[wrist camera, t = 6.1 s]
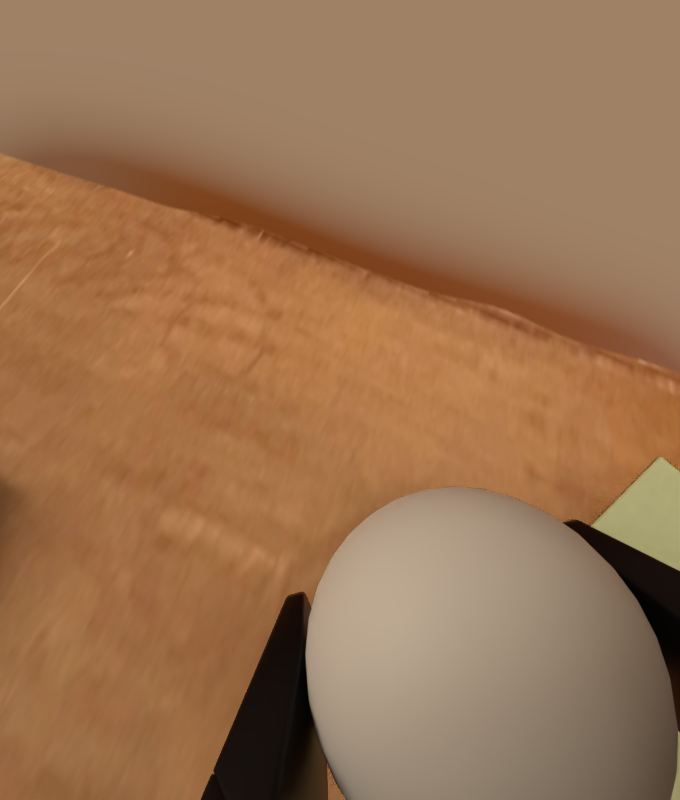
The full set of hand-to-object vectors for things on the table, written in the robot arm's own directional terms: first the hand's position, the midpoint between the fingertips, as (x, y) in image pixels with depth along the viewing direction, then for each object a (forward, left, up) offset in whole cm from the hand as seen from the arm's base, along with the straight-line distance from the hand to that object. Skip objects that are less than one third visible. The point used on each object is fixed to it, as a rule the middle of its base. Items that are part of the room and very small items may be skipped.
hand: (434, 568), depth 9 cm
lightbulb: (-1, +1, -7) cm, 7 cm away
